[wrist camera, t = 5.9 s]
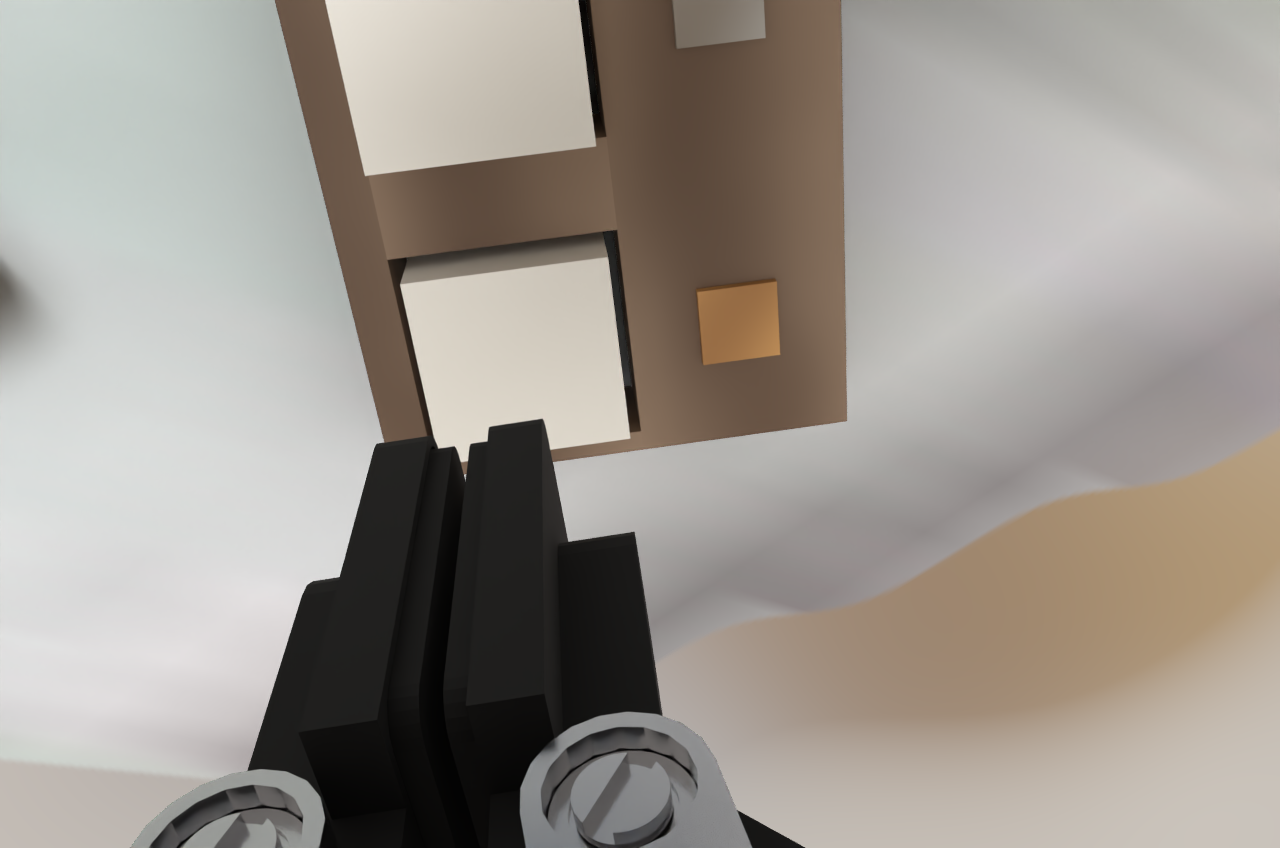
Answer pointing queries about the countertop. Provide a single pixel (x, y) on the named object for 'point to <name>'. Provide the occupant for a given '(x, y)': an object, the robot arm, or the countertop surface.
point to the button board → (635, 213)
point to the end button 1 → (518, 341)
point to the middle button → (462, 79)
